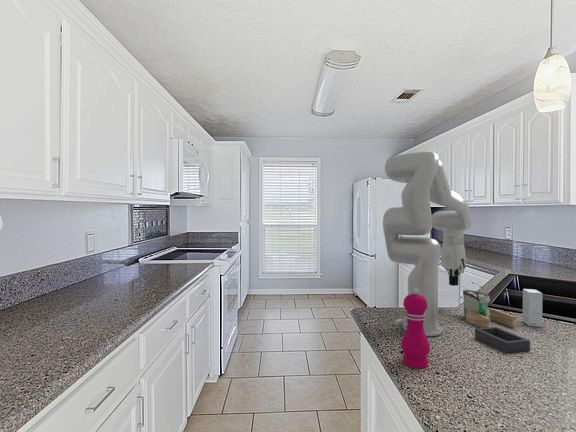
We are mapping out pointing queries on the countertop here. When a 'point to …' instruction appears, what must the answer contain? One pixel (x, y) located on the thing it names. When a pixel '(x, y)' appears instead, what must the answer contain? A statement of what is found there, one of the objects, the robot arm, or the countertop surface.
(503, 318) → the wooden channel
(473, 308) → the food container
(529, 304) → the skincare box
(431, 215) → the robot arm
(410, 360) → the pepper mill
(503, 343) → the tray
